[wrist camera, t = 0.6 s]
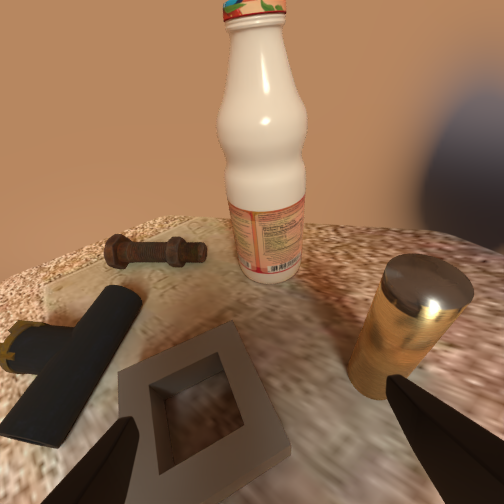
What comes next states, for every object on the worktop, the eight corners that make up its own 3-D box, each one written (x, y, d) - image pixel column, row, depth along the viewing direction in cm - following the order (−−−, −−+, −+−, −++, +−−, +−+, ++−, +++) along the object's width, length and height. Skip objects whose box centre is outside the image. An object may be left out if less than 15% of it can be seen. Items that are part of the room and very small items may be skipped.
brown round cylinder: (407, 385, 22) (493, 289, 13) (371, 409, 21) (437, 323, 12) (371, 345, 25) (419, 245, 16) (337, 365, 24) (369, 269, 15)
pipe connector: (-87, 416, 20) (51, 280, 31) (-32, 432, 23) (74, 304, 34) (30, 438, 18) (132, 285, 29) (71, 451, 21) (148, 310, 32)
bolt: (208, 272, 39) (122, 271, 40) (211, 243, 40) (128, 243, 42) (197, 262, 33) (98, 261, 35) (201, 230, 35) (106, 230, 36)
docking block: (290, 455, 19) (291, 444, 17) (148, 549, 16) (121, 554, 14) (237, 339, 27) (232, 319, 25) (135, 388, 24) (117, 372, 22)
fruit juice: (228, 275, 35) (165, 6, 17) (255, 238, 41) (230, 11, 23) (289, 294, 32) (293, -24, 13) (308, 250, 38) (330, -8, 19)
